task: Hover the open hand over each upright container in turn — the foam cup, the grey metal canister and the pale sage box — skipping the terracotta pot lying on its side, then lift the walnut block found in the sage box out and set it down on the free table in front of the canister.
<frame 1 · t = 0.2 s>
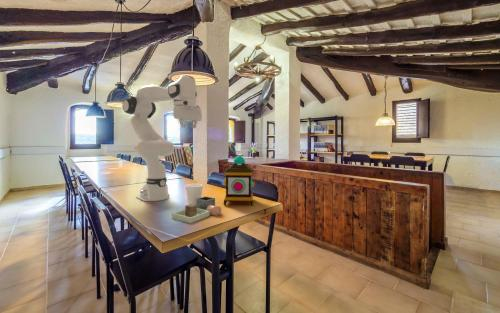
hand: (188, 127, 140), 47 cm above the table, fingers open, 8 cm apart
sage box: (191, 217, 121), on the table
foam cup: (194, 207, 141), on the table
walnut block: (191, 216, 121), point 1 cm above the table, touching sage box
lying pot: (213, 215, 126), on the table
decorative lantern: (239, 202, 152), on the table
grey canister: (205, 210, 133), on the table
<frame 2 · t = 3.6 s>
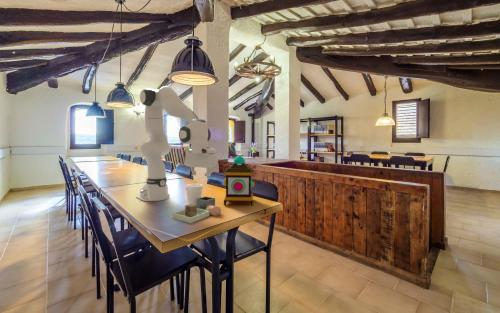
hand: (200, 175, 127), 21 cm above the table, fingers open, 8 cm apart
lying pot: (213, 215, 126), on the table, tilted 9°
everything else where it was.
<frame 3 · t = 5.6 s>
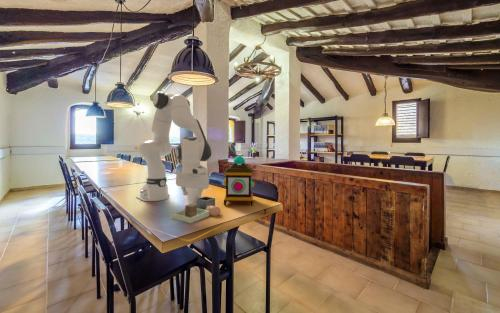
hand: (192, 196, 121), 11 cm above the table, fingers open, 8 cm apart
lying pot: (213, 214, 126), on the table, tilted 18°
everything else where it was.
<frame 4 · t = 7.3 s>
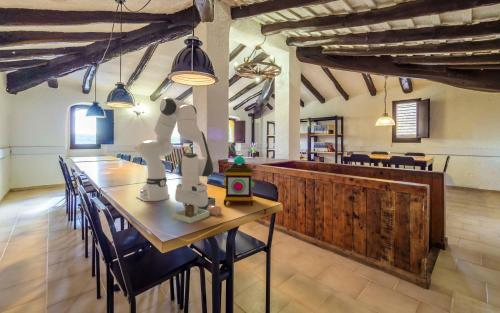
hand: (191, 212, 121), 3 cm above the table, fingers closed on walnut block, 4 cm apart
walnut block: (191, 216, 121), point 1 cm above the table, touching gripper, sage box
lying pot: (213, 215, 126), on the table
everything else where it was.
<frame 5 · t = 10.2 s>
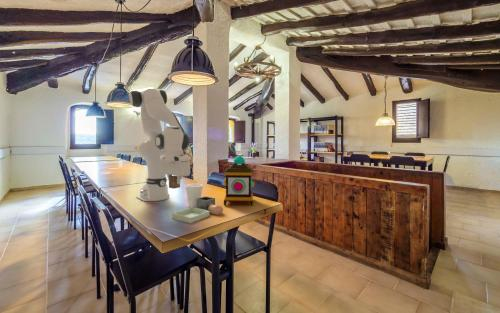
hand: (174, 183, 125), 17 cm above the table, fingers closed on walnut block, 4 cm apart
walnut block: (174, 187, 125), point 15 cm above the table, touching gripper
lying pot: (213, 214, 126), on the table, tilted 31°
everything else where it was.
when the fingers open (3 cm above the table, at t = 13.2 s): walnut block drops 1 cm, on the table.
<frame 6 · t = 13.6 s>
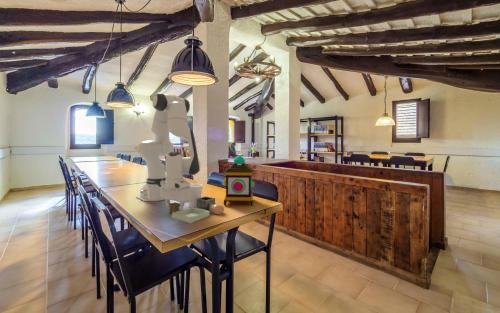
hand: (174, 208, 126), 3 cm above the table, fingers open, 8 cm apart
walnut block: (175, 214, 127), on the table
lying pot: (214, 213, 126), point 1 cm above the table, tilted 52°
everything else where it was.
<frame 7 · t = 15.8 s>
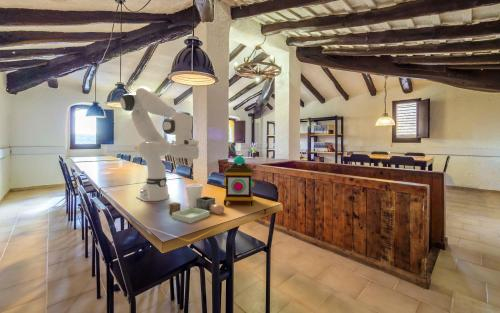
hand: (183, 165, 133), 25 cm above the table, fingers open, 8 cm apart
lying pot: (214, 212, 126), point 1 cm above the table, tilted 58°
everything else where it was.
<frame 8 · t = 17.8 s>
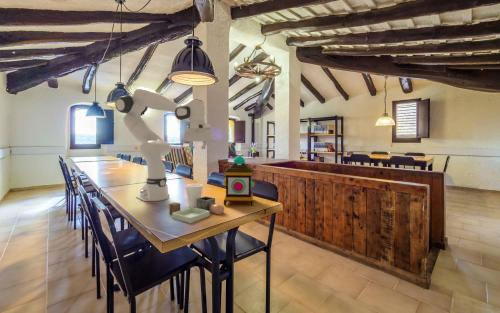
hand: (197, 148, 145), 34 cm above the table, fingers open, 8 cm apart
nothing on the table moved.
at the end: walnut block inside the target area (0.1 cm from its centre), on the table; walnut block tilted 0°; the gripper is holding nothing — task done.
